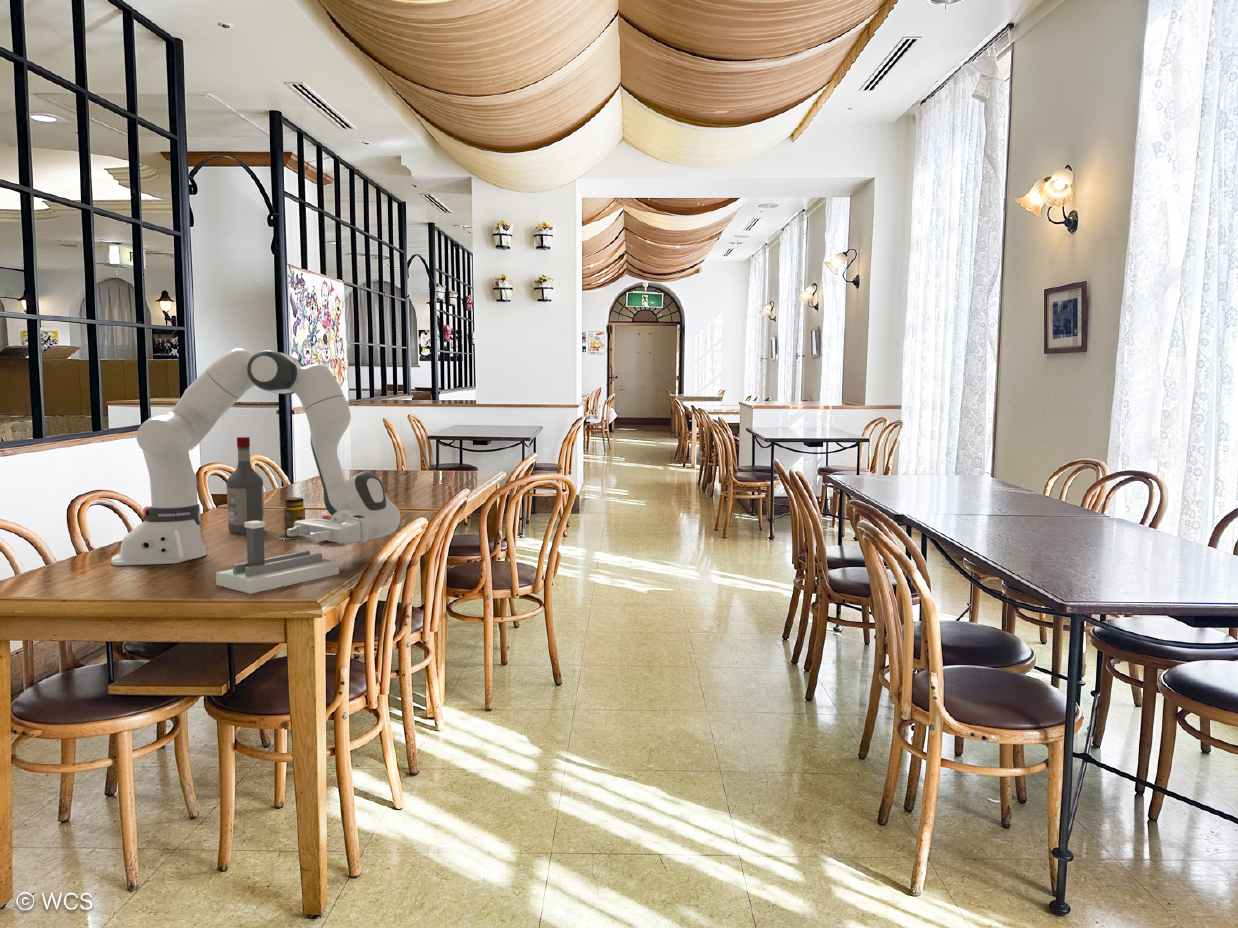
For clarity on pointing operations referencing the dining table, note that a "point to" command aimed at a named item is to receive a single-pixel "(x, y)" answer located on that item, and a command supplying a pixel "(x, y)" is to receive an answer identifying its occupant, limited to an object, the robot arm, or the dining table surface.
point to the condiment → (293, 515)
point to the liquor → (244, 491)
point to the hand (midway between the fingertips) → (299, 534)
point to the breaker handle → (255, 542)
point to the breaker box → (277, 572)
